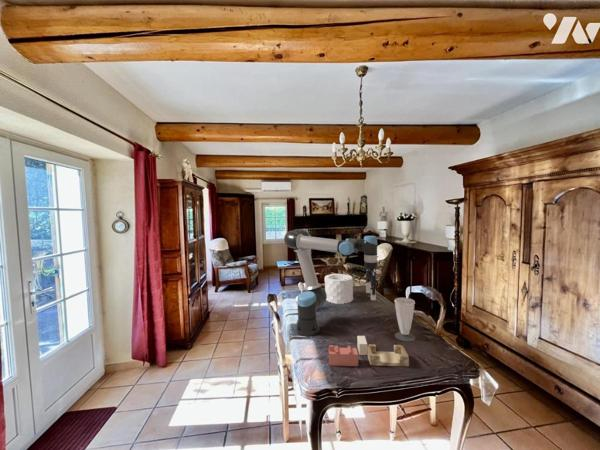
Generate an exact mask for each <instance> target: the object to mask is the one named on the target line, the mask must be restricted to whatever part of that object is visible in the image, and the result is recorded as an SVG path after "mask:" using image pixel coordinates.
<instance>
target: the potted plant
mask: <svg viewBox="0 0 600 450" xmlns="http://www.w3.org/2000/svg"><path fill="white" fill-rule="evenodd" d="M297 287H298V288H299V291H300V293H302V292H304V291H305V288H306V284H305V282H299V283H298V285H297ZM297 300H298V295H297V296H296V297H295V303H296V305H297V306H298V303H297Z"/></svg>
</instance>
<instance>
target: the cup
mask: <svg viewBox="0 0 600 450" xmlns="http://www.w3.org/2000/svg"><path fill="white" fill-rule="evenodd" d="M393 301H394V307H395V313H396V320H397V323H398V328H399V331H398V332H395V333H394V337H395V338H396V339H397V340H399V341H402V342H413V341H415V340H416V336H415V335H414V334H412V333H410V331H411V328H412V323H413V317H414V311H415V304H416V302H415V300H414V299H412V298H407V297H397V298H396V297H395V299H394V300H393Z"/></svg>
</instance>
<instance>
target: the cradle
mask: <svg viewBox="0 0 600 450" xmlns="http://www.w3.org/2000/svg"><path fill="white" fill-rule="evenodd" d="M366 356H367V358H368V362H369V365H370V366H379V367H380V366H381V367H382V366H383V367H386V366H387V367H409V366H410V357H409V354H408V353H407V351H406V349H405V347H404V345H401V344H393V351H377V346H376V344H373V343H372V344H370V343H369V344H368V343H367V355H366Z"/></svg>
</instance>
